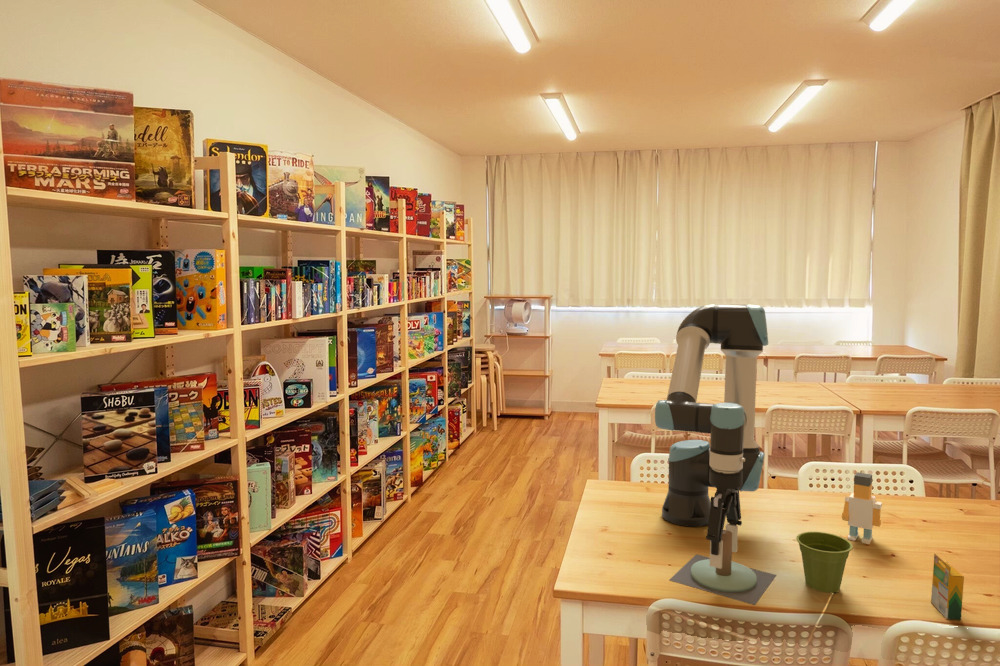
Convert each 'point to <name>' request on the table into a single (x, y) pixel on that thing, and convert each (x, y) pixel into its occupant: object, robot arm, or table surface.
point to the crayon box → (947, 589)
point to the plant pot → (823, 559)
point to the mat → (747, 596)
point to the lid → (724, 571)
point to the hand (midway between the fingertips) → (723, 558)
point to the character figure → (862, 508)
